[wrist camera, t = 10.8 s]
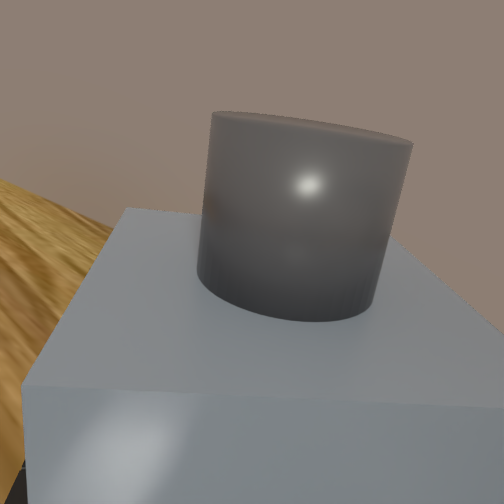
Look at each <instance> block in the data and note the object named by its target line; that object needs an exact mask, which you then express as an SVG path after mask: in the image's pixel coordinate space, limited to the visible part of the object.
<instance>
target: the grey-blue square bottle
mask: <svg viewBox="0 0 504 504" xmlns="http://www.w3.org/2000/svg"><path fill="white" fill-rule="evenodd" d="M412 148H413V143H412V142H410V141H408V140H405V139H402V138H399V137H395V136H392V135H387V134H383V133H379V132H374V131H369V130H364V129H359V128H354V127H349V126H342V125H337V124H331V123H325V122H319V121H312V120H305V119H299V118H291V117H284V116H275V115H267V114H258V113H245V112H231V111H228V112H227V111H219V112H213V113H212V119H211V129H210V139H209V149H208V159H207V169H206V179H205V189H204V200H203V209H202V215H197V214H187V213H178V212H167V211H158V210H149V209H139V208H129V207H127V208H126V210H125V212H124V214H123V215H122V216H121V218H120V220H119V222H118V223H117V225H116V227H115V228H114V230H113V232H112V233H111V235H110V237H109V238H108V240H107V242H106V243H105V245H104V247H103V248H102V250H101V252H100V253H99V255H98V257H97V258H96V260H95V262H94V264H93V265H92V267H91V269H90V270H89V272H88V274H87V275H86V277H85V279H84V280H83V282H82V284H81V285H80V287H79V289H78V290H77V292H76V294H75V295H74V297H73V299H72V301H71V302H70V304H69V306H68V307H67V309H66V311H65V312H64V314H63V316H62V317H61V319H60V321H59V322H58V324H57V326H56V327H55V329H54V331H53V332H52V334H51V336H50V338H49V339H48V341H47V343H46V344H45V346H44V348H43V349H42V351H41V353H40V354H39V356H38V358H37V359H36V361H35V363H34V364H33V366H32V368H31V369H30V371H29V373H28V374H27V376H26V378H25V380H24V381H23V383H22V385H21V391H22V408H23V426H24V443H25V461H26V478H27V496H28V504H504V335H503V334H502V333H501V332H500V331H499V330H498V329H496V328H495V327H494V326H493V325H492V324H491V323H490V322H488V321H487V320H486V319H485V318H484V317H483V316H482V315H480V314H479V313H478V312H477V311H476V310H475V309H474V308H472V307H471V306H470V305H469V304H468V303H467V302H466V301H465V300H463V299H462V298H461V297H460V296H459V295H458V294H456V293H455V292H454V291H453V290H452V289H451V288H450V287H449V286H447V285H446V284H445V283H444V282H443V281H442V280H441V279H439V278H438V277H437V276H436V275H435V274H434V273H432V272H431V271H430V270H429V269H428V268H427V267H426V266H424V265H423V264H422V263H421V262H420V261H419V260H418V259H416V258H415V257H414V256H413V255H412V254H411V253H409V251H407V250H406V249H405V248H404V247H403V246H402V245H401V244H399V243H398V242H397V241H396V240H395V239H394V238H393V237H391V236H390V232H391V229H392V225H393V221H394V217H395V213H396V209H397V206H398V202H399V198H400V194H401V190H402V186H403V183H404V179H405V175H406V171H407V167H408V164H409V160H410V156H411V152H412Z"/></svg>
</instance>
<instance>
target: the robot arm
mask: <svg viewBox="0 0 504 504" xmlns="http://www.w3.org/2000/svg"><path fill="white" fill-rule="evenodd" d="M4 504H28V496H27V478H26V461H24V463H23V465H22V469H21V471H19V473H18V476H17V478H16V480H15V482H14V484H13V486H12V488H11V490H10V493H9V495H8V497H7V499H6V501H5V503H4Z"/></svg>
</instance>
